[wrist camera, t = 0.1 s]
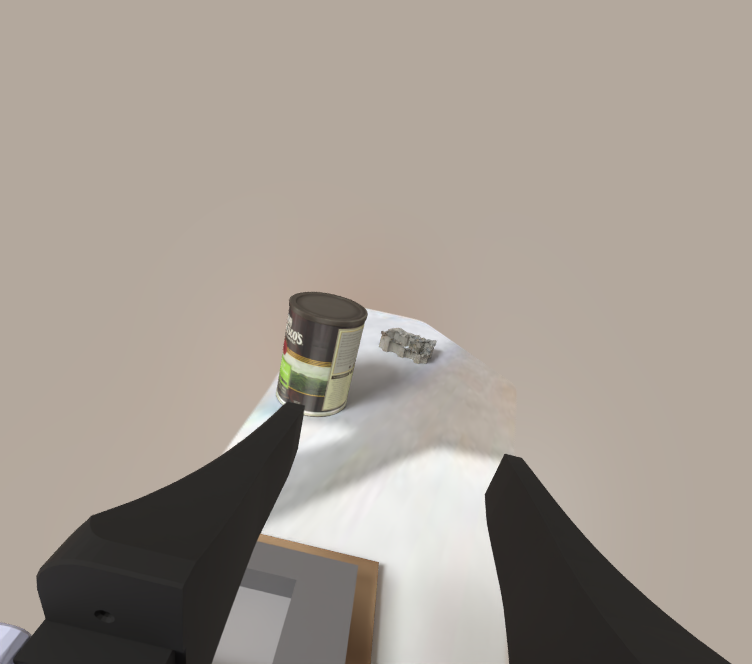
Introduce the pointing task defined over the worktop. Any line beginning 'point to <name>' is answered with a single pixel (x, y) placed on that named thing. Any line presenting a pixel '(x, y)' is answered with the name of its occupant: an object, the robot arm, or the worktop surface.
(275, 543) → the board
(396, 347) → the egg carton
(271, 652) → the grey square frame plate
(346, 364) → the coffee can
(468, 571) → the worktop surface
